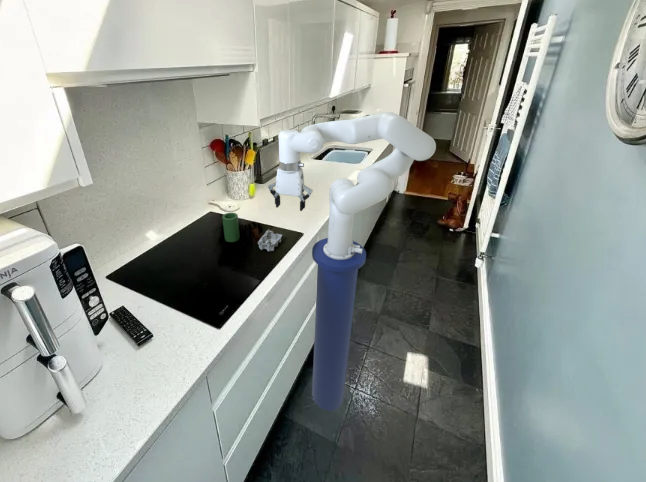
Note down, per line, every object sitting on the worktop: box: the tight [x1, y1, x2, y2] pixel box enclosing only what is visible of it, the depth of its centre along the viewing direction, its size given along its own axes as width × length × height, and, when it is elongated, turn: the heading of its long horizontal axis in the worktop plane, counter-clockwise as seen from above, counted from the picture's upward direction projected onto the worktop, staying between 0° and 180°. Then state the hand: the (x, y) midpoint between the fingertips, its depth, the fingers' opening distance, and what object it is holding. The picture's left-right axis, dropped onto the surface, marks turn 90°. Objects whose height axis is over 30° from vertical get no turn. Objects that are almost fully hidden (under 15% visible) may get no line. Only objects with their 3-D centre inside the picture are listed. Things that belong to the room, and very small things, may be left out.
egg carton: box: [257, 229, 283, 252], centre depth 128 cm, size 11×8×4 cm
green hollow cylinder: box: [221, 212, 241, 243], centre depth 132 cm, size 6×6×11 cm
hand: (289, 207), depth 118 cm, fingers open, 9 cm apart
